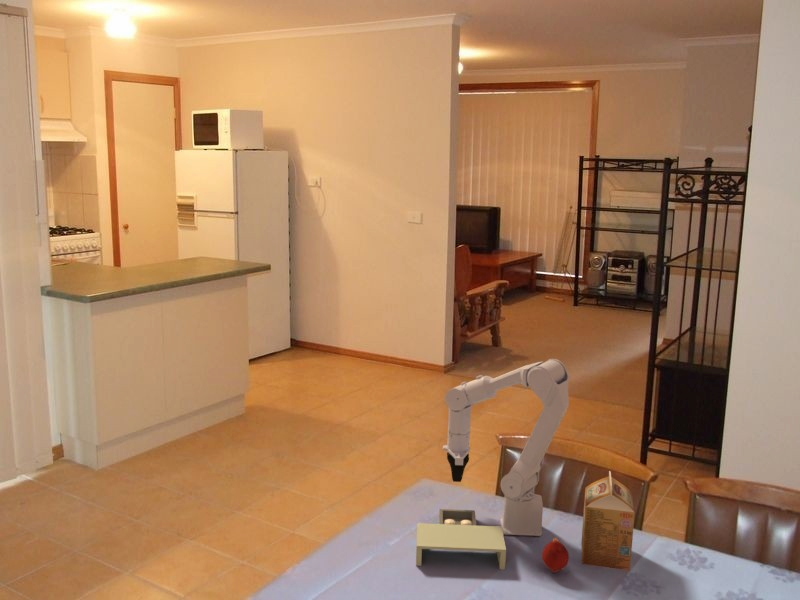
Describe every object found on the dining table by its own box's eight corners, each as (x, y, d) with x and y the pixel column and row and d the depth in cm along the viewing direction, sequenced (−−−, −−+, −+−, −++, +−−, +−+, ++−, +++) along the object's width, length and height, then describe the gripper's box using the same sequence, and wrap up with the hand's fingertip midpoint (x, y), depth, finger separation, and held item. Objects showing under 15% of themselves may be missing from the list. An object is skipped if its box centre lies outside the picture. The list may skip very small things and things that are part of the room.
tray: (474, 519, 196) (474, 509, 195) (476, 541, 185) (477, 529, 185) (439, 518, 196) (439, 507, 196) (439, 539, 186) (439, 527, 185)
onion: (569, 567, 173) (571, 535, 172) (565, 580, 168) (568, 546, 166) (543, 562, 175) (545, 530, 174) (539, 575, 170) (541, 542, 168)
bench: (500, 545, 183) (501, 526, 182) (505, 569, 172) (506, 549, 171) (416, 541, 183) (417, 523, 182) (415, 565, 172) (416, 545, 172)
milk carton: (629, 570, 173) (636, 491, 169) (581, 564, 175) (587, 486, 171) (626, 548, 183) (633, 473, 179) (581, 542, 185) (586, 468, 182)
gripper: (442, 421, 204) (441, 469, 207) (444, 440, 190) (441, 491, 193) (469, 422, 204) (467, 470, 207) (472, 441, 190) (470, 493, 192)
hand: (456, 480), depth 200 cm, fingers closed
